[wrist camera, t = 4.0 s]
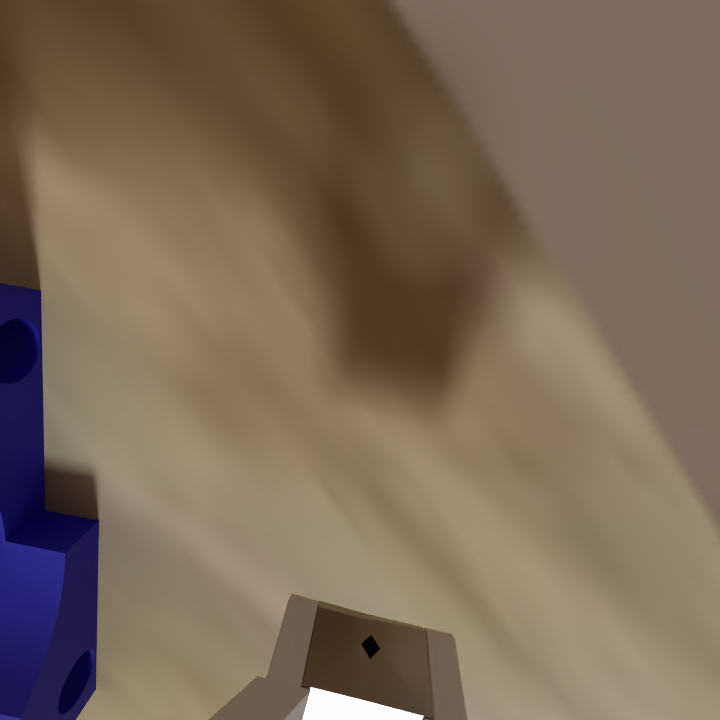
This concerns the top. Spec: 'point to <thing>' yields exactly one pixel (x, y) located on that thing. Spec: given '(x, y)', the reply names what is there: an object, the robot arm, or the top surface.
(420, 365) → the top surface
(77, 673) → the cable clip
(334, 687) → the robot arm
